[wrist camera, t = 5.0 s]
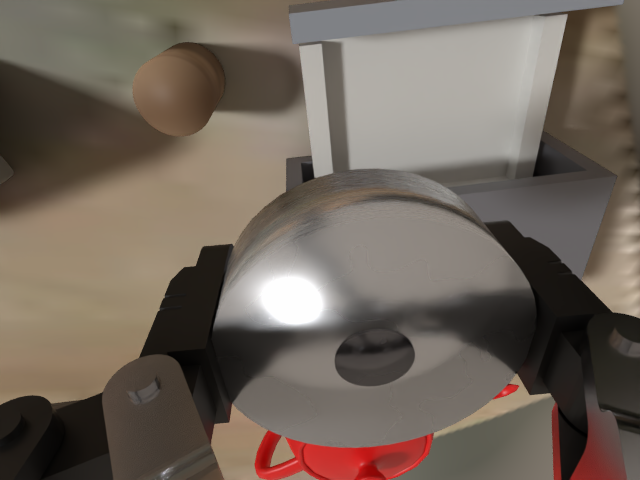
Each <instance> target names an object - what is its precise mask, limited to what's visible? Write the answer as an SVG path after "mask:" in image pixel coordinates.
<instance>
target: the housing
mask: <svg viewBox="0 0 640 480" xmlns="http://www.w3.org/2000/svg"><path fill="white" fill-rule="evenodd" d="M616 178H617V175H615V174H614V173H612V172H610V171H609V170H607V169H605V168H604V167H602V166H600V165H599V164H597V163H595V162H594V161H592V160H591V159H589V158H587V157H586V156H584V155H582V154H581V153H579V152H577V151H576V150H574V149H573V148H571V147H569V146H568V145H566V144H564V143H563V142H561V141H559V140H558V139H556V138H554V137H553V136H551V135H550V134H548V133H546V132H545V131H542V135H541V140H540V144H539V149H538V154H537V158H536V163H535V167H534V172H533V177H529V178H521V179H513V180H504V181H496V182H488V183H479V184H471V185H463V186H454V187H446V188H448V189H450V190H451V191H453V192H454V193H455V194H456V195H458V196H459V197H460V198H461V199H463V200H464V201H465V202H466V203H467V204H468V205H469V206H470V207H471V209H472V210H473V211H474V212H475V213H476V214H477V215H478V217H479V218H480V219H481V220H482V222H491V221H502V220H508V221H510V222H511V223H512V224H513V225H514V226H515V228H516V229H517V230H518V231H519V232H520V233H521V234H522V235H523V236H524V237H531V238H533V239H534V240H536V241H538V242H540V243H542V244H543V245H545V246H547V247H549V248H550V249H551V250H552V251H553V252H554V253H555V254H556V255H557V256H558V257H559V258H560V259H561V262H562V263H565V265H566V266H567V267H568V268H569V269H570V270H571V271H572V274H575V275H576V276H577V277H578V278H579V279H580V280H581V279H582V276H583V273H584V271H585V268H586V265H587V262H588V259H589V256H590V253H591V250H592V248H593V245H594V242H595V239H596V236H597V233H598V230H599V227H600V224H601V222H602V219H603V216H604V213H605V210H606V207H607V204H608V201H609V199H610V196H611V193H612V190H613V187H614V184H615V181H616ZM312 179H315V178H314V170H313V161H312V156H306V157H297V158H289V159H286V192H287V191H289V190H290V189H292V188H294V187H296V186H298V185H300V184H302V183H305V182H307V181H310V180H312Z"/></svg>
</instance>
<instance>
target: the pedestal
mask: <svg viewBox="0 0 640 480" xmlns="http://www.w3.org/2000/svg"><path fill="white" fill-rule="evenodd" d="M224 89H225V74H224V70H223V68H222V65H221V64H220V62H219V60H218V59H217V57H216V56H215V55H214V54H213V53H212V52H211V51H209V50H208V49H207V48H205V47H203V46H201V45H199V44H195V43H189V42H185V43H179V44H176V45H174V46H172V47H170V48H169V49H167V50H165V51H164V52H162V53H161V54H159V55H157V56H156V57H154V58H152V59H151V60H149V61H148V62H146V63H145V64H143V65H142V66H141V67H140V69H139V70H138V72H137V73H136V75H135V78H134V81H133V98H134V101H135V104H136V107H137V109H138V111H139V113H140V114H141V115H142V117H143V118H144V119H145V120H146V121H147V122H148V123H149V124H150V125H151V126H152V127H154V128H155V129H157V130H158V131H160V132H162V133H165V134H168V135H172V136H188V135H191V134H194V133H196V132H198V131H199V130H201V129H202V128H203V127H204V126H205V125H206V124H207V122H208V121H209V119H210V117H211V115H212V113H213V112H214V110H215V108H216V106H217V104H218V102H219V101H220V99H221V97H222V95H223V93H224Z"/></svg>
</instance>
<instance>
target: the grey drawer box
mask: <svg viewBox="0 0 640 480" xmlns="http://www.w3.org/2000/svg"><path fill="white" fill-rule="evenodd" d="M623 3H624V0H331V1H323V2H314V3H306V4H298V5H289V18H290V26H291V34H292V42H293V44H298V43H299V50H300V59H301V67H302V76H303V84H304V93H305V101H306V110H307V118H308V127H309V135H310V144H311V152H312V161H313V170H314V178H317V177H321V176H325V175H328V174H332V173H335V172H341V171H348V170H354V169H377V168H379V169H389V170H399V171H403V172H408V173H412V174H416V175H420V176H422V177H425V178H427V179H430V180H433V181H435V182H437V183H439V184H441V185H442V186H444V187H454V186H463V185H471V184H479V183H488V182H496V181H504V180H513V179H521V178H529V177H533V172H534V167H535V163H536V158H537V154H538V149H539V144H540V140H541V135H542V131H543V126H544V121H545V117H546V112H547V108H548V103H549V98H550V94H551V89H552V85H553V80H554V75H555V71H556V66H557V61H558V57H559V52H560V48H561V43H562V38H563V34H564V29H565V25H566V20H567V15H568V14H564V13H556V12H564V11H572V10H581V9H589V8H597V7H606V6H614V5H622V4H623Z"/></svg>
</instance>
